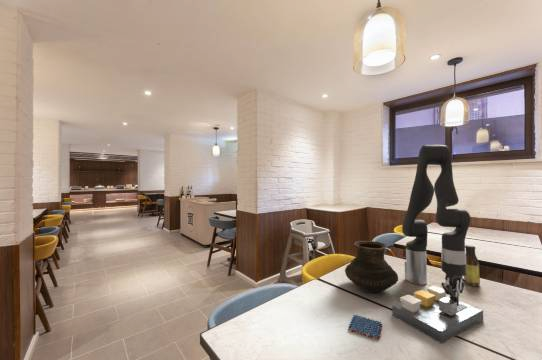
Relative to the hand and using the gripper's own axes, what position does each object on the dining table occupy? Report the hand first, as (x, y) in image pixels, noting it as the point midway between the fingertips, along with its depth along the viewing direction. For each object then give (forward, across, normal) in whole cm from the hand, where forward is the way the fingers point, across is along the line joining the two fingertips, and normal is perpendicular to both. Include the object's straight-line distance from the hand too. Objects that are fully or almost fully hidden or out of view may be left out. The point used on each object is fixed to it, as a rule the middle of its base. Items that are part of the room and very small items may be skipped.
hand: (454, 305), depth 88 cm
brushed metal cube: (+2, +4, 0) cm, 4 cm away
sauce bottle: (+6, -44, -13) cm, 46 cm away
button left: (+4, +13, -9) cm, 16 cm away
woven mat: (+7, +34, -12) cm, 37 cm away
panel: (+6, +4, -4) cm, 8 cm away
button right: (+4, -5, -9) cm, 11 cm away
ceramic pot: (+6, +7, -33) cm, 34 cm away
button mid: (+4, +4, -9) cm, 10 cm away
